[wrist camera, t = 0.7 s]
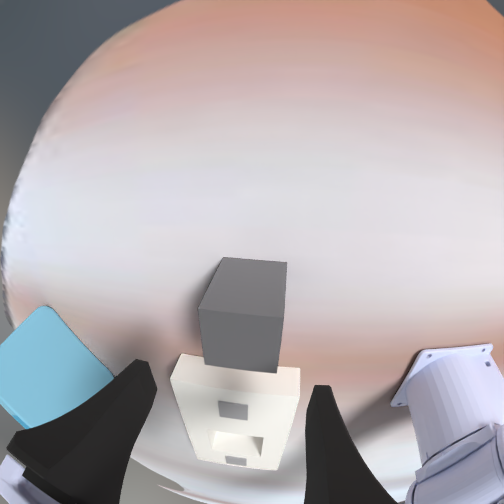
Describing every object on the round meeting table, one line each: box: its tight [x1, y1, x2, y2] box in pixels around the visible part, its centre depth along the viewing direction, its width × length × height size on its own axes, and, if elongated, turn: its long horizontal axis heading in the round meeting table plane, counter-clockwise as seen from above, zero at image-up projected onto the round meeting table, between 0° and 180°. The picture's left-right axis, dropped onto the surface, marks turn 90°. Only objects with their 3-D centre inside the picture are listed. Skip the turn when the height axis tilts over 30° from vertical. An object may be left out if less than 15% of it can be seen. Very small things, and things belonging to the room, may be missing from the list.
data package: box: [0, 306, 114, 429], centre depth 20 cm, size 12×4×12 cm, turn 34°
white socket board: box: [170, 353, 300, 470], centre depth 24 cm, size 10×18×3 cm, turn 179°
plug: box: [198, 257, 287, 374], centre depth 16 cm, size 4×4×6 cm
